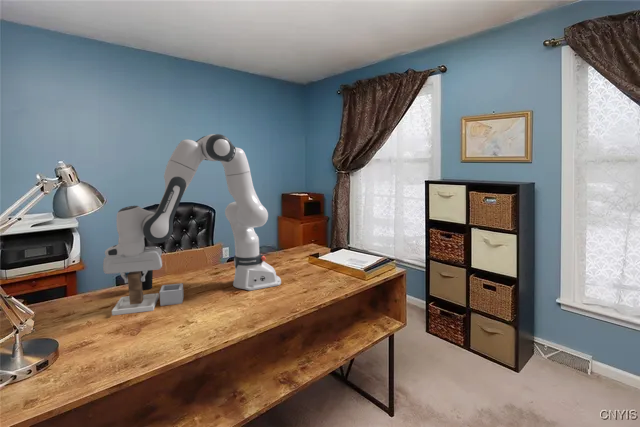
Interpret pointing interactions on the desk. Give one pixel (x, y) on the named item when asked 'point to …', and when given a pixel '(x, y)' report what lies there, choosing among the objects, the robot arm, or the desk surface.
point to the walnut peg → (135, 287)
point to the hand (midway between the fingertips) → (135, 282)
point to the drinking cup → (147, 280)
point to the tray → (135, 305)
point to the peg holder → (171, 294)
